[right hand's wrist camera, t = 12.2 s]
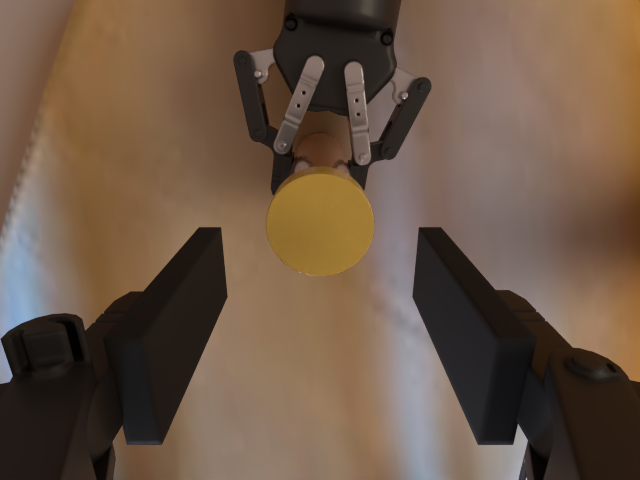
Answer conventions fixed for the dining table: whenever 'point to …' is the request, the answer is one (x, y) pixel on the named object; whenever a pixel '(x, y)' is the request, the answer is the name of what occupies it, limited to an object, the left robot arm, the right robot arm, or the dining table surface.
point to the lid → (320, 221)
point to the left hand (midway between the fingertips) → (314, 204)
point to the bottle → (320, 154)
